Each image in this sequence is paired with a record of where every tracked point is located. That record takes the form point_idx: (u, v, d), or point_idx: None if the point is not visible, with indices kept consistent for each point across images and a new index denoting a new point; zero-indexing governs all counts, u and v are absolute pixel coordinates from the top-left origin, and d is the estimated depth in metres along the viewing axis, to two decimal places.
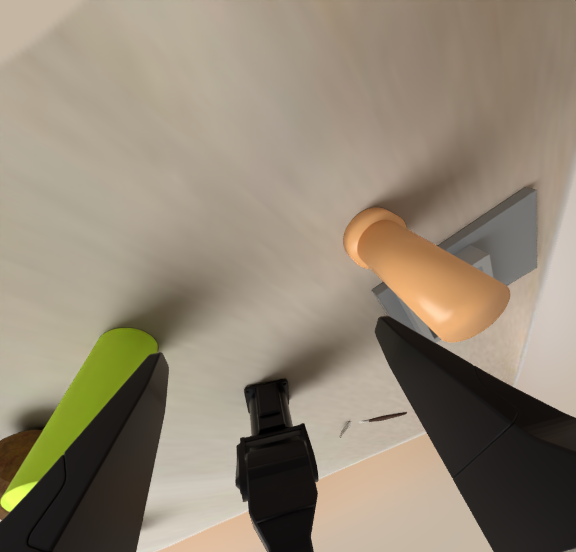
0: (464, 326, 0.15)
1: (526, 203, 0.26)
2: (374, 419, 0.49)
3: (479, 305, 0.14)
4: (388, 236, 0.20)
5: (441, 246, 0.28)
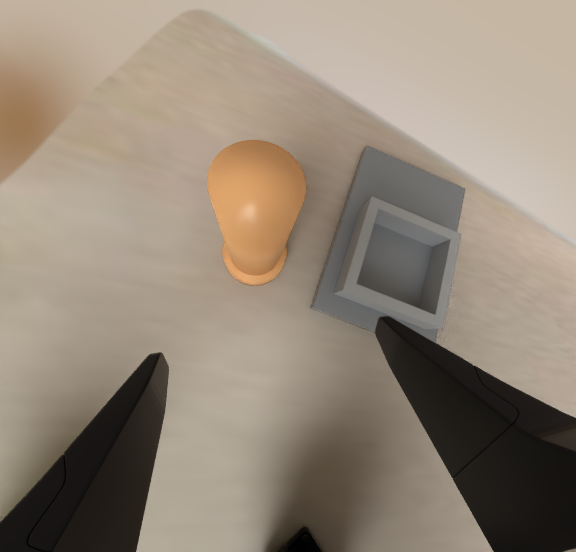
0: (265, 200, 0.11)
1: (372, 156, 0.27)
2: None
3: (252, 170, 0.12)
4: None
5: (338, 226, 0.26)
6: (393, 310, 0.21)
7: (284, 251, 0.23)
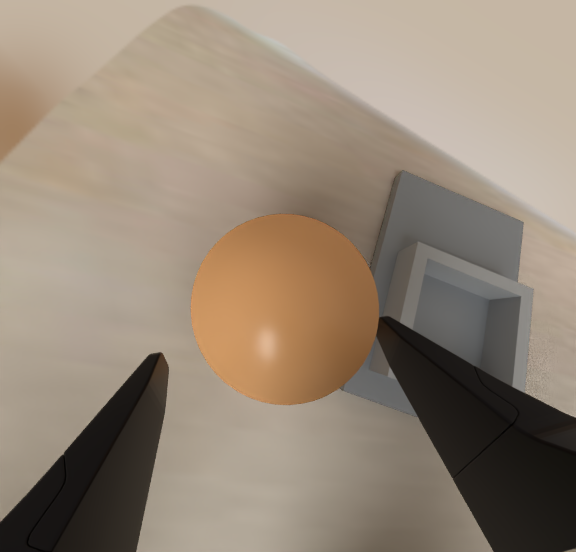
0: (305, 337, 0.06)
1: (409, 183, 0.22)
2: None
3: (278, 275, 0.06)
4: None
5: None
6: None
7: None
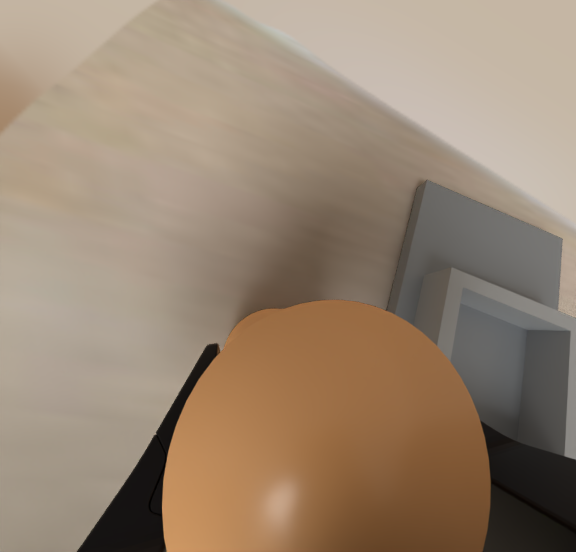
0: (371, 539, 0.03)
1: (434, 195, 0.19)
2: None
3: (320, 418, 0.03)
4: None
5: (391, 302, 0.18)
6: None
7: None
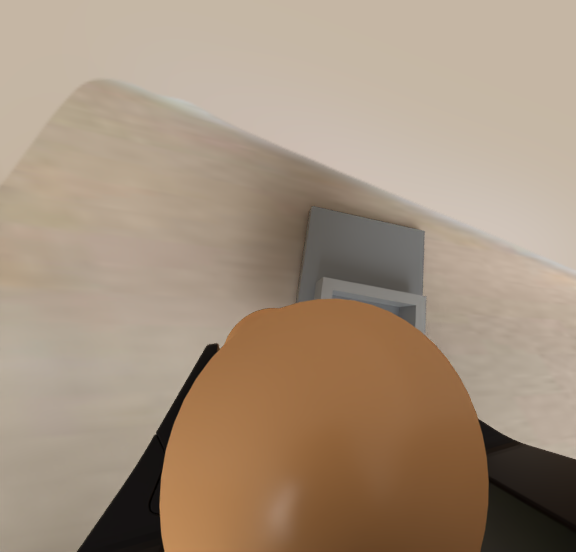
0: (369, 539, 0.03)
1: (319, 217, 0.25)
2: None
3: (317, 416, 0.03)
4: None
5: None
6: None
7: None
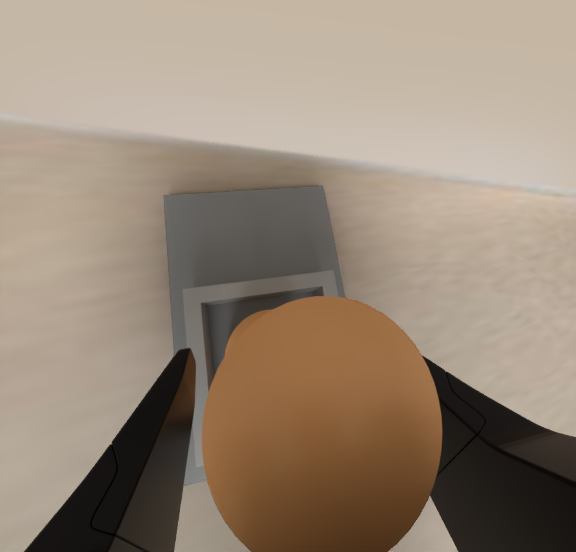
0: (352, 471, 0.04)
1: (177, 207, 0.18)
2: None
3: (315, 383, 0.05)
4: None
5: None
6: None
7: None
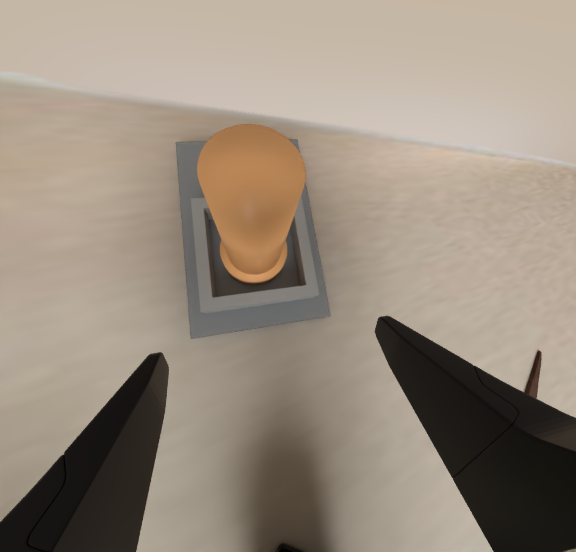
0: (261, 188, 0.10)
1: (186, 151, 0.24)
2: None
3: (246, 156, 0.11)
4: None
5: None
6: (263, 302, 0.20)
7: (284, 249, 0.22)
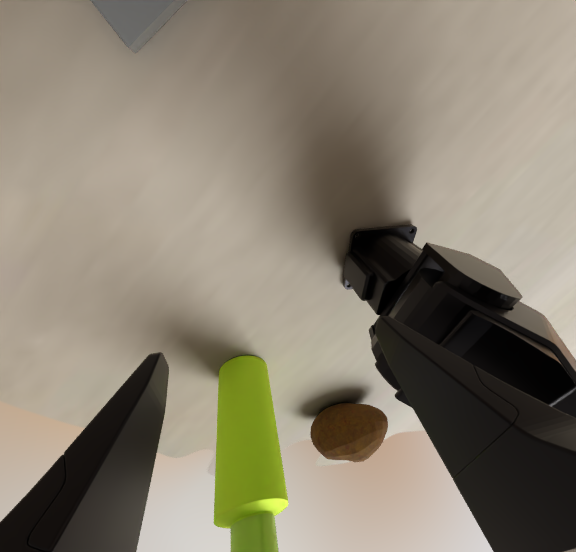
0: None
1: None
2: None
3: None
4: None
5: None
6: None
7: None
